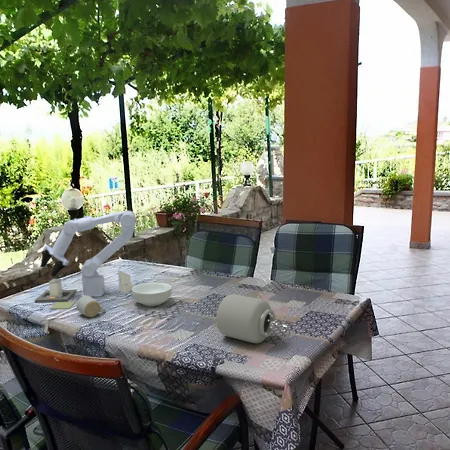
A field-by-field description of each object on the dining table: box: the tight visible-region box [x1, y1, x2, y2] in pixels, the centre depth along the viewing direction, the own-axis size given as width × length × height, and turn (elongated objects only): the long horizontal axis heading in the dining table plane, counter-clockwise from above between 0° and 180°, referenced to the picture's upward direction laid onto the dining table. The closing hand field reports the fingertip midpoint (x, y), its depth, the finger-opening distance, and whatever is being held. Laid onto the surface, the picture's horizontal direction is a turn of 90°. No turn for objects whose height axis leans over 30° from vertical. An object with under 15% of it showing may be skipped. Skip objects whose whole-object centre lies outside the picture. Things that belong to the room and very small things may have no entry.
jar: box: [216, 293, 288, 344], centre depth 157 cm, size 19×15×25 cm
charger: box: [48, 278, 63, 297], centre depth 208 cm, size 4×5×8 cm
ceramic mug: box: [76, 296, 106, 318], centre depth 186 cm, size 10×8×7 cm
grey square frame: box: [34, 289, 78, 304], centre depth 208 cm, size 14×14×2 cm
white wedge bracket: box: [117, 270, 135, 294], centre depth 216 cm, size 4×10×9 cm, turn 146°
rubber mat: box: [49, 301, 76, 310], centre depth 197 cm, size 8×8×1 cm
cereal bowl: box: [131, 282, 173, 307], centre depth 198 cm, size 17×17×7 cm
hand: (47, 271), depth 207 cm, fingers open, 7 cm apart
